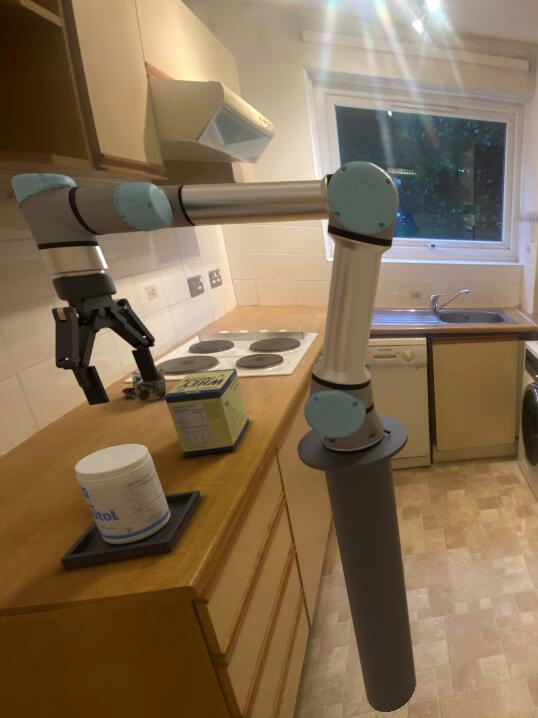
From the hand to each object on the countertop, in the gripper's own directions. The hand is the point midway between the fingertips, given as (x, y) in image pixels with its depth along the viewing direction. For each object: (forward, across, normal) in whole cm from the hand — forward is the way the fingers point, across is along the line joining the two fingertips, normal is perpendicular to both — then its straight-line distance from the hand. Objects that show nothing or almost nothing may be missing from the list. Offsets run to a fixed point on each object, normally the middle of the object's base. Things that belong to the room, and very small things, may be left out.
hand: (128, 391), depth 81 cm
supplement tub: (+23, +11, +1) cm, 25 cm away
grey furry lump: (+13, -52, -33) cm, 63 cm away
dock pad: (+23, +11, +1) cm, 26 cm away
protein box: (+20, -22, 0) cm, 30 cm away
